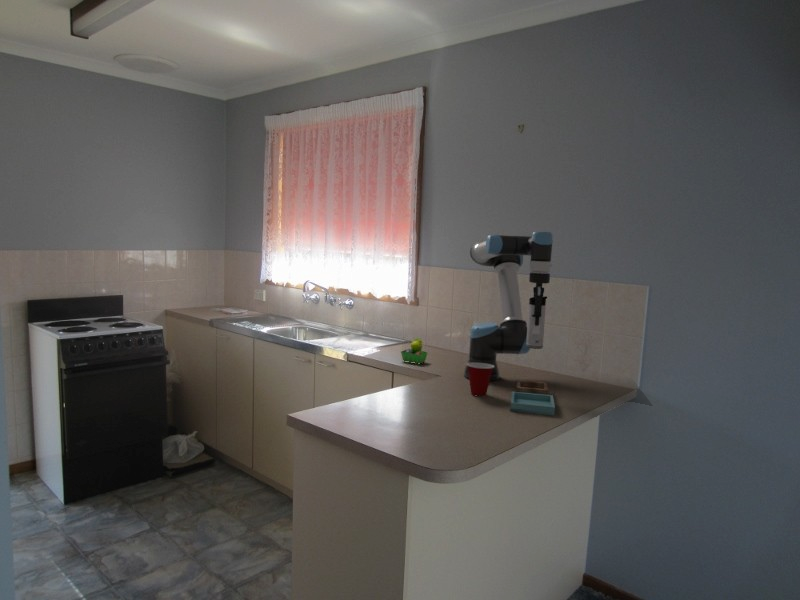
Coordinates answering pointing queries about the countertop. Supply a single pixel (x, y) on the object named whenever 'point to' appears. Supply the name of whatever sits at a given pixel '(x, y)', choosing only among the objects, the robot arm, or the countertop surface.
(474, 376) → the plastic cup
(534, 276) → the robot arm
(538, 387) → the open wooden box
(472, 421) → the countertop surface
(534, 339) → the travel mug
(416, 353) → the fruit basket
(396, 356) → the countertop surface
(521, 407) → the tray
